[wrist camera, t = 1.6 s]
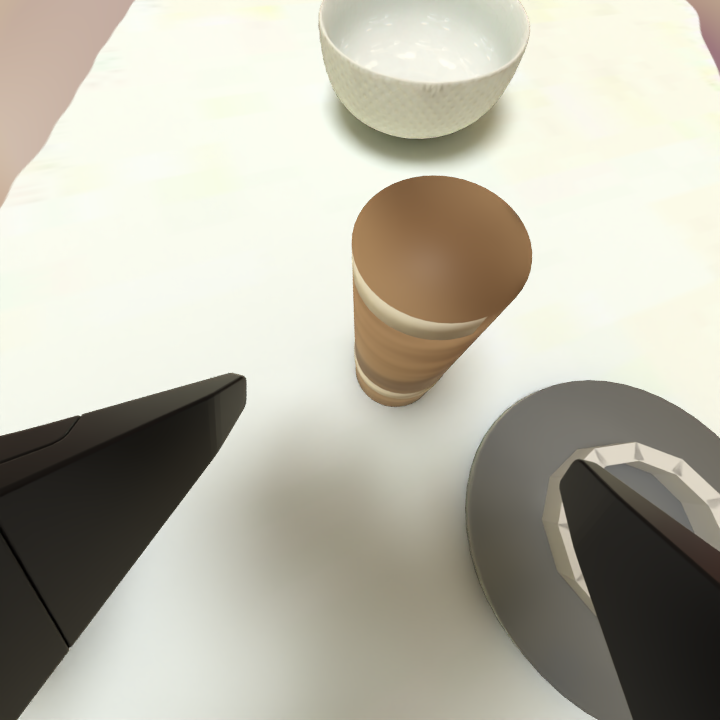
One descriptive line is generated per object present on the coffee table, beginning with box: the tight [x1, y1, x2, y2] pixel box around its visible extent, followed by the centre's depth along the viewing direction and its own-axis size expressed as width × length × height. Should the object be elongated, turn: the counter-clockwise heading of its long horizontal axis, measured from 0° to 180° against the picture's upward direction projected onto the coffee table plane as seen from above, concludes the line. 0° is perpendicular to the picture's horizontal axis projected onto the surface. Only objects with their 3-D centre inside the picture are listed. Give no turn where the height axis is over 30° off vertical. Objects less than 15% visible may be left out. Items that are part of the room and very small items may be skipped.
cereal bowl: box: [318, 0, 530, 139], centre depth 27 cm, size 17×17×7 cm
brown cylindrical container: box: [352, 176, 532, 407], centre depth 15 cm, size 6×6×13 cm
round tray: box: [466, 380, 720, 720], centre depth 17 cm, size 18×18×2 cm
